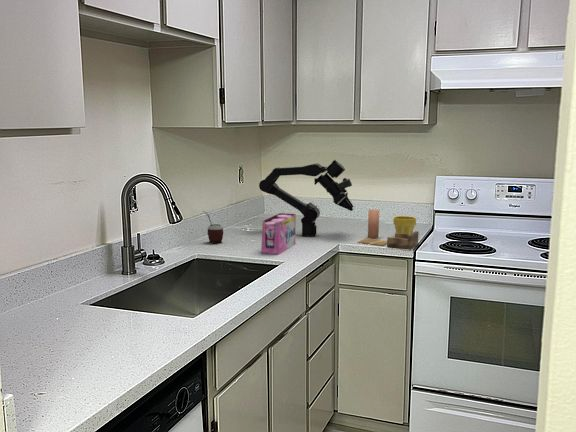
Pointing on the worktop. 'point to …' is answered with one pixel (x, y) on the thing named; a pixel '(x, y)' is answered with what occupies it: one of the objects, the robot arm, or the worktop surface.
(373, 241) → the brown wooden flat block
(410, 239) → the open wooden box
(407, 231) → the plant pot
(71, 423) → the worktop surface
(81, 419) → the worktop surface
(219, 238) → the mate gourd
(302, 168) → the robot arm
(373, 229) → the post
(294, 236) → the gum box
